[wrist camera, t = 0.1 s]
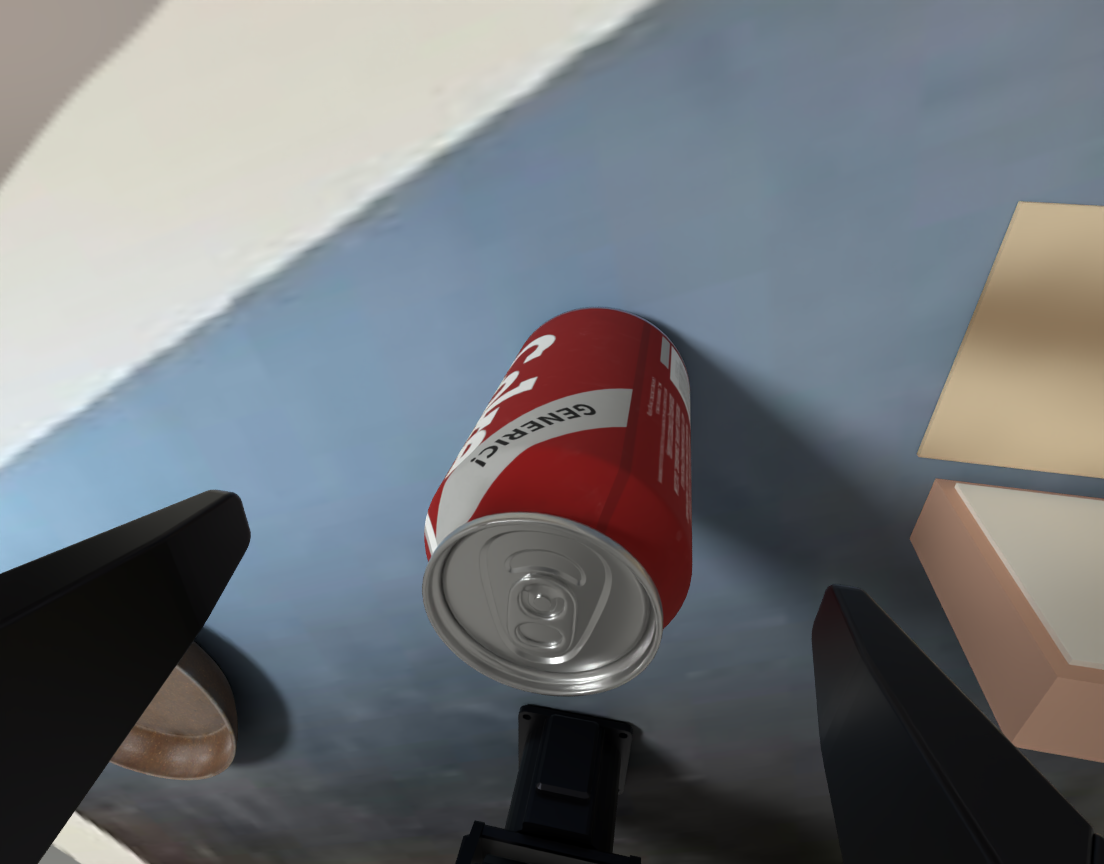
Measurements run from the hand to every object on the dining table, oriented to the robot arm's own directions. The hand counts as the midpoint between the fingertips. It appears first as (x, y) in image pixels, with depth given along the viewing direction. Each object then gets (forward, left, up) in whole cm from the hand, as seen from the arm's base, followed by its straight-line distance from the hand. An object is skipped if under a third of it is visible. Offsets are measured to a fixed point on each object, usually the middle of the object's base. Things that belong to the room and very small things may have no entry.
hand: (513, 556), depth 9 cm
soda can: (-4, 0, -15) cm, 15 cm away
